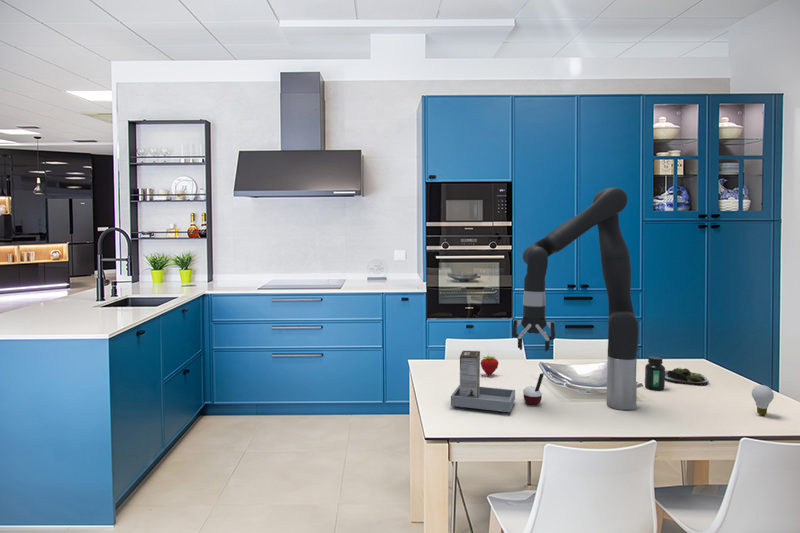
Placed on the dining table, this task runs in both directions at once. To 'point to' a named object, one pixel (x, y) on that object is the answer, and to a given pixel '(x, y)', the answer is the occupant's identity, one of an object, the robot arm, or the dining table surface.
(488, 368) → the strawberry
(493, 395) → the tray
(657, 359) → the supplement bottle
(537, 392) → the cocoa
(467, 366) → the coffee box
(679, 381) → the salad plate
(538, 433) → the dining table surface
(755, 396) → the light bulb
